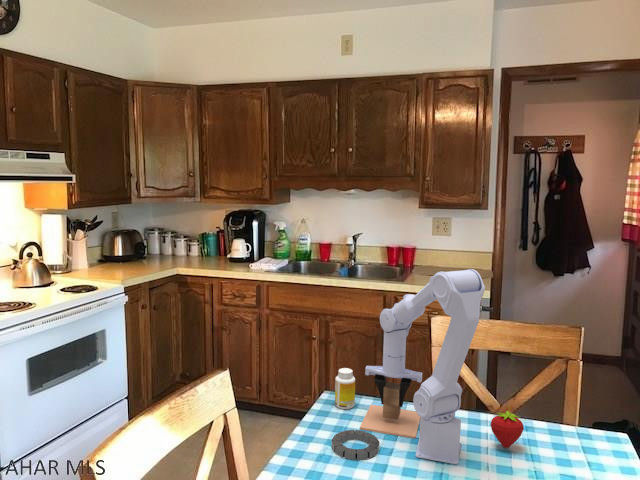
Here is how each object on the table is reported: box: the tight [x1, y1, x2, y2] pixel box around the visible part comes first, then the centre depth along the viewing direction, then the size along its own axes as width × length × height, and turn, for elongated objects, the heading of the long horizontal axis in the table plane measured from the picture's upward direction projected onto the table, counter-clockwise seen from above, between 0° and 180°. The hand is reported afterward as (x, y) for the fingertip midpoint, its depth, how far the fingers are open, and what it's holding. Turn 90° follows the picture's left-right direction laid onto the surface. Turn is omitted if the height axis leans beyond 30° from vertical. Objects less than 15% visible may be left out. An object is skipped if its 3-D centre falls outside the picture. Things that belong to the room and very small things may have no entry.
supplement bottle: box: [334, 367, 356, 410], centre depth 142 cm, size 6×6×10 cm
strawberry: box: [490, 405, 524, 449], centre depth 122 cm, size 6×8×10 cm
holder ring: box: [331, 429, 381, 461], centre depth 121 cm, size 11×11×2 cm
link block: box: [382, 381, 402, 420], centre depth 133 cm, size 4×4×8 cm
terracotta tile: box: [359, 404, 420, 439], centre depth 134 cm, size 14×14×1 cm
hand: (392, 404), depth 134 cm, fingers closed on link block, 4 cm apart
